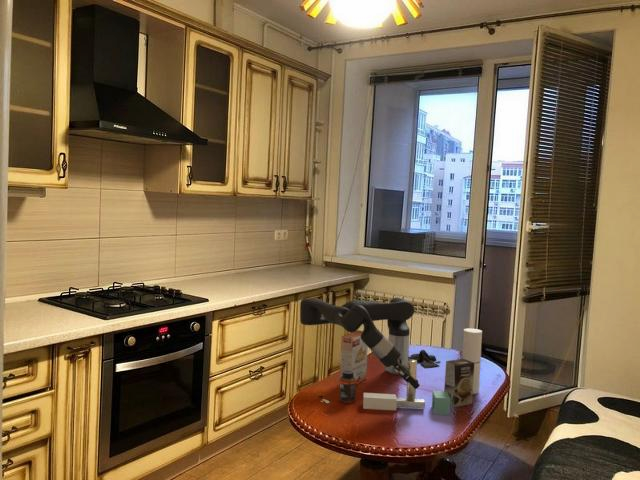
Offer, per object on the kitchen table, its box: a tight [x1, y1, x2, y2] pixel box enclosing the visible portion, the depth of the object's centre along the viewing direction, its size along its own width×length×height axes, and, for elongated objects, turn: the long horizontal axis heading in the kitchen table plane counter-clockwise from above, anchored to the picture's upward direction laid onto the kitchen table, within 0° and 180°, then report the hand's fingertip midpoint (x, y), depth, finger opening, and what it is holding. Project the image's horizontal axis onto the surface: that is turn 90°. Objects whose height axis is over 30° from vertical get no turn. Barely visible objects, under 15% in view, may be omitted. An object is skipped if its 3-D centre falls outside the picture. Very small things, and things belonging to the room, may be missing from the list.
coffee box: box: [443, 358, 474, 408], centre depth 197 cm, size 9×6×16 cm
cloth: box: [408, 349, 441, 369], centre depth 250 cm, size 22×19×6 cm
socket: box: [431, 390, 451, 416], centre depth 189 cm, size 5×7×6 cm
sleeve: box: [362, 392, 398, 411], centre depth 191 cm, size 12×5×4 cm, turn 86°
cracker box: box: [338, 329, 369, 386], centre depth 215 cm, size 14×6×21 cm, turn 148°
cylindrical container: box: [461, 327, 483, 395], centre depth 210 cm, size 7×7×25 cm
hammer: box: [396, 360, 426, 410], centre depth 190 cm, size 20×3×17 cm, turn 86°
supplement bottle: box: [339, 370, 357, 404], centre depth 195 cm, size 6×6×11 cm
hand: (417, 385), depth 189 cm, fingers closed on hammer, 3 cm apart
